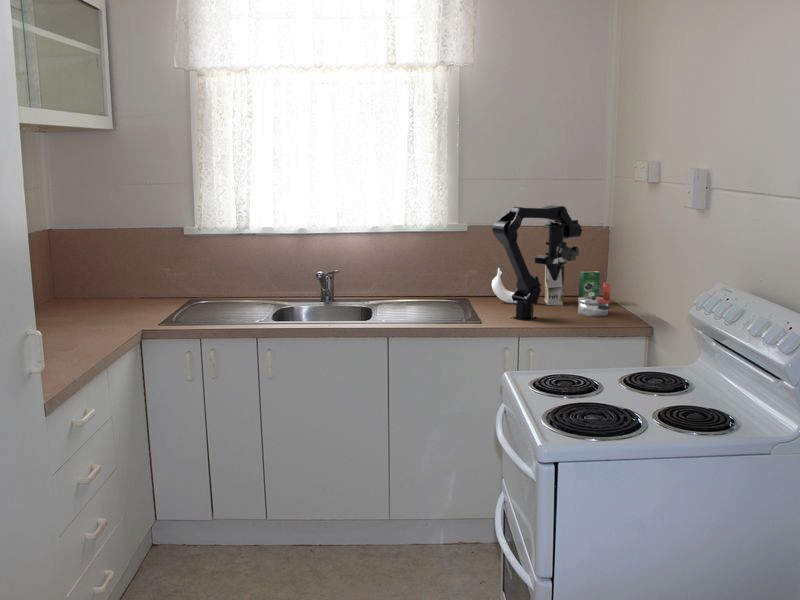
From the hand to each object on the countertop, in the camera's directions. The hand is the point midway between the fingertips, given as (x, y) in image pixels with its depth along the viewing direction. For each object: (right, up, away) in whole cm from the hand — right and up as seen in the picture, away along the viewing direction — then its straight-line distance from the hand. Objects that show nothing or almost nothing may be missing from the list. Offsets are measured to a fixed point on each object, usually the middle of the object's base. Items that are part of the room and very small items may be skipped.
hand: (554, 280), depth 307 cm
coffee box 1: (+4, -9, +24) cm, 26 cm away
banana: (-12, -9, +24) cm, 28 cm away
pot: (+15, -13, +3) cm, 20 cm away
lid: (+16, -8, +1) cm, 18 cm away
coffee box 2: (+18, -9, +24) cm, 31 cm away
